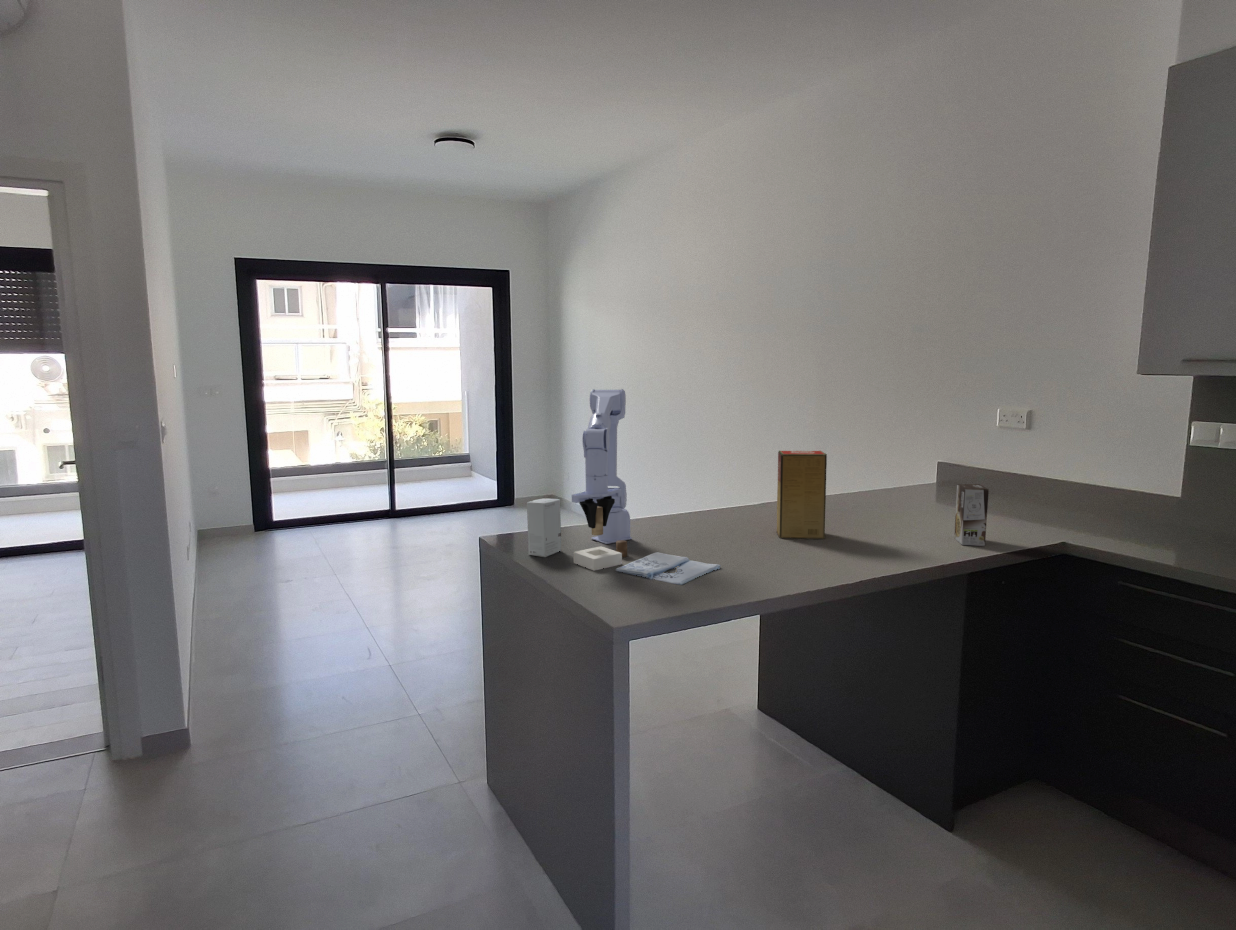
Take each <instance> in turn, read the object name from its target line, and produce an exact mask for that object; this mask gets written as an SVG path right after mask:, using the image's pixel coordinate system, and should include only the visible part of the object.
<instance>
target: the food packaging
mask: <svg viewBox="0 0 1236 930" xmlns="http://www.w3.org/2000/svg"><path fill="white" fill-rule="evenodd" d="M827 462H828V456H827V453H826V452H823V451H822V450H778V453H777V492H776V498H777V499H776V530H775V531H776V534H777V536H778V538H780V539H793V540H794V539H795V540H796V539H799V540H800V539H801V540H803V539H804V540H805V539H807V540H808V539H809V540H812V539H813V540H825V539H826V538H825V536H826V535H825V534H826V533H825V532H826V531H825V529H826V501H827V500H826V499H827V498H826V497H827Z"/></svg>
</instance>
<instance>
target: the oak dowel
mask: <svg viewBox="0 0 1236 930" xmlns="http://www.w3.org/2000/svg"><path fill="white" fill-rule="evenodd" d="M602 534H603V507H599V506H597V510H596V525H595V528H591V535H592V536H597V535H602Z"/></svg>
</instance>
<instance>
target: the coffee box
mask: <svg viewBox="0 0 1236 930" xmlns="http://www.w3.org/2000/svg"><path fill="white" fill-rule="evenodd" d="M989 492H990V489H989V488H987V487H985V486H983V485H981V484H980V483H978V484H977V483H964V484H963V483H961V484H960V483H959V484H958V483H957V484H956V498H955V516H954V517H955V519H954V536H953V537H954V539H955V540H956V541H957V542H958V543H959V544H960V545H961V546H978V547H979V546H980V547H985V545H986V534H987V521H988V518H987V517H988V508H989Z"/></svg>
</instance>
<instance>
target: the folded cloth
mask: <svg viewBox="0 0 1236 930" xmlns="http://www.w3.org/2000/svg"><path fill="white" fill-rule="evenodd" d="M677 566H679V567H677ZM675 567H677V572H675V571H674V572H675V573H668V572H667V571H669V570H673V568H674V569H675ZM720 567H721V564H718V563H716V564H715V563H714V564H713V563H706V562H702V561H696V560H692V559H691V560H690V558H689V557H687V556H679V555H674V554H669V553H664V552H658V551H656V552H653V553H651V554H650V553H649V554H648V555H646V556H644V557H641V558H639V559H636V560H633V561H631V562H629V563H627V564H625V565H622V566H620V567H619V566H618V567H617V568H615V571H617V572H618V573H622V572H623V574H627V575H633V576H636V575H637V576H638V577H641V576H642V578H645V577H646V579H649V580H650V581H651V580H654V579H655V581H661V582H664V583H668V584H674V585H678V586H679V585H680V586H683V585H685V584H687V583H689V582H691V581H693V580H696V579H697V577H698V578H700V577H703V576H704V574H705V575H707V574H708V573H709V574H710V573H711V572H712V571H713V570H715V571H718V570H721V568H720ZM717 569H718V570H717ZM663 572H666V573H663ZM713 572H714V571H713ZM706 573H707V574H706ZM702 575H703V576H702ZM637 576H636V577H637ZM699 576H700V577H699ZM695 578H696V579H695Z"/></svg>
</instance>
